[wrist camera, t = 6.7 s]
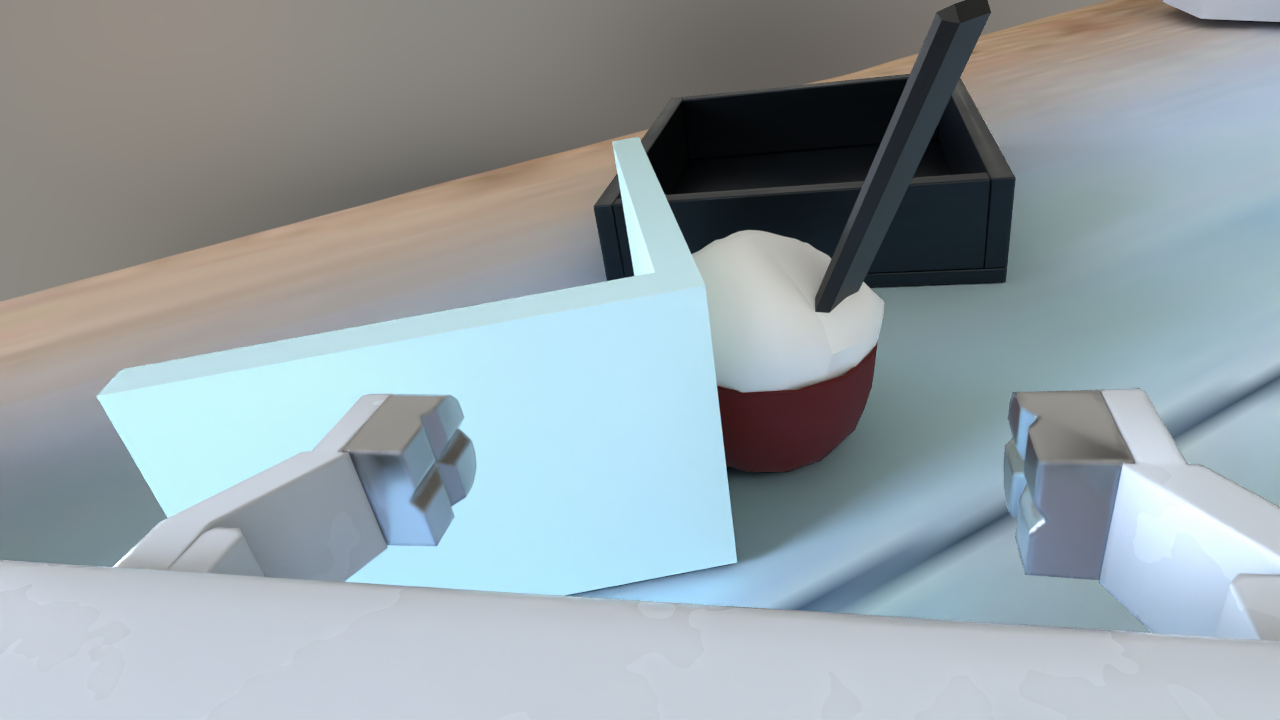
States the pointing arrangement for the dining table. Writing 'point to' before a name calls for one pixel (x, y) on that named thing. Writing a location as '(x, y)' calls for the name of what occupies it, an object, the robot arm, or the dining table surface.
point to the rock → (1230, 9)
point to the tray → (825, 179)
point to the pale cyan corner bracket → (492, 419)
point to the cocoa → (820, 288)
